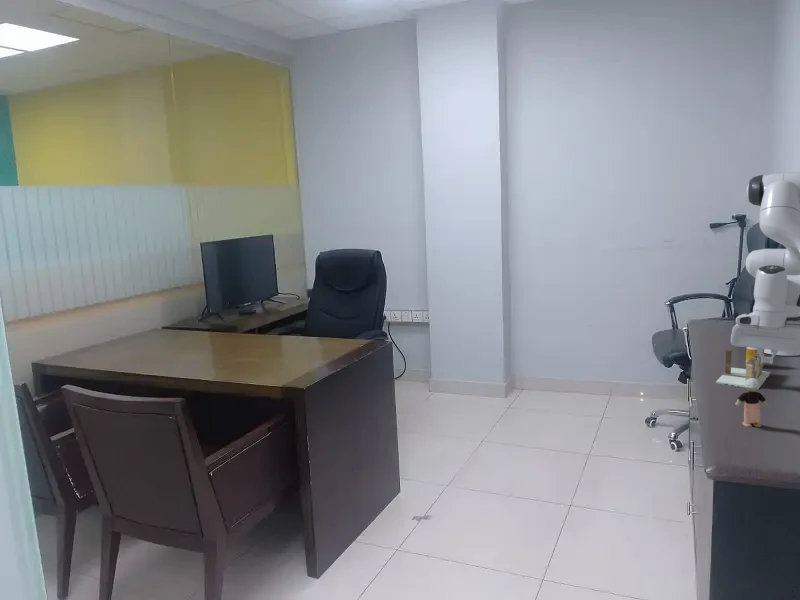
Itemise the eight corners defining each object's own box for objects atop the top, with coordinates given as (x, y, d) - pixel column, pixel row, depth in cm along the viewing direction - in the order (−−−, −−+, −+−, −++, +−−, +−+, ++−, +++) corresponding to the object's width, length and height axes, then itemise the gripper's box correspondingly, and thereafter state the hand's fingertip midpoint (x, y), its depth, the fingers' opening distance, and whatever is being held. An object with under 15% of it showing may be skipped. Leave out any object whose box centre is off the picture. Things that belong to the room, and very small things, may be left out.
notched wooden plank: (750, 377, 197) (751, 356, 196) (755, 378, 196) (756, 357, 195) (745, 383, 191) (746, 362, 190) (750, 384, 190) (751, 363, 189)
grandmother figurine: (759, 421, 162) (762, 375, 160) (768, 426, 158) (771, 379, 156) (731, 423, 162) (733, 377, 160) (739, 428, 158) (741, 381, 156)
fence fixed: (756, 371, 205) (757, 350, 203) (761, 372, 204) (762, 350, 202) (750, 378, 197) (751, 356, 196) (756, 378, 196) (757, 356, 195)
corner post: (725, 372, 205) (726, 349, 204) (731, 372, 204) (732, 349, 203) (724, 373, 204) (725, 350, 203) (730, 374, 203) (731, 350, 202)
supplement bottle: (754, 368, 210) (755, 341, 208) (742, 365, 215) (743, 338, 213) (767, 367, 211) (768, 339, 210) (754, 363, 216) (755, 336, 215)
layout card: (730, 368, 211) (730, 367, 211) (770, 373, 203) (770, 371, 203) (715, 383, 196) (715, 381, 196) (758, 389, 188) (758, 387, 188)
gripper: (811, 320, 182) (808, 365, 184) (734, 314, 195) (733, 356, 197) (808, 323, 177) (805, 369, 179) (730, 317, 190) (728, 360, 192)
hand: (766, 363), depth 188 cm, fingers closed
